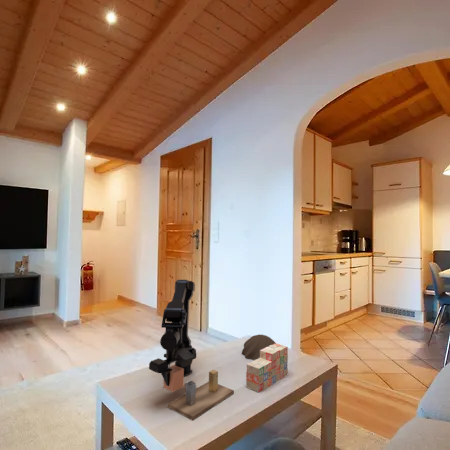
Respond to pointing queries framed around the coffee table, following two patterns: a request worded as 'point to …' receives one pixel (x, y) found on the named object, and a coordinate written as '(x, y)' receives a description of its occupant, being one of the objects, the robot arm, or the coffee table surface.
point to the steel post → (190, 393)
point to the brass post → (213, 381)
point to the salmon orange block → (175, 379)
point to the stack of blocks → (267, 367)
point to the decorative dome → (256, 346)
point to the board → (201, 401)
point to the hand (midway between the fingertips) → (173, 382)
